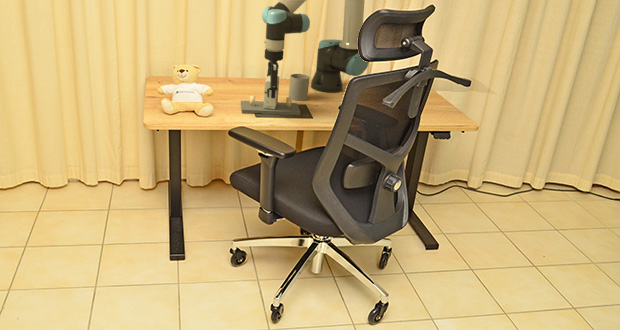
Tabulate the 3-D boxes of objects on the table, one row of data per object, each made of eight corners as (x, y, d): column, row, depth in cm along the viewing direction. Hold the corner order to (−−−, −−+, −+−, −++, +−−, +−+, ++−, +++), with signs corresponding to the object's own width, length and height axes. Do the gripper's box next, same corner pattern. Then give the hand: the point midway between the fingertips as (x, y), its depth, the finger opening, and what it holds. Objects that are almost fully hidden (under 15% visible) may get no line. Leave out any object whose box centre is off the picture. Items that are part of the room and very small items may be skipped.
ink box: (266, 102, 255) (268, 74, 251) (277, 103, 255) (280, 76, 250) (262, 108, 247) (264, 80, 243) (274, 109, 247) (276, 81, 242)
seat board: (296, 106, 259) (297, 94, 257) (300, 115, 248) (301, 103, 246) (240, 103, 255) (241, 91, 253) (241, 113, 244) (242, 100, 242)
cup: (304, 102, 266) (307, 80, 262) (286, 99, 267) (288, 77, 263) (308, 96, 274) (310, 75, 270) (291, 94, 275) (293, 72, 271)
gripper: (262, 41, 252) (259, 90, 261) (267, 56, 230) (263, 109, 238) (280, 42, 254) (277, 91, 262) (286, 57, 231) (282, 110, 240)
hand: (270, 100), depth 250 cm, fingers open, 13 cm apart
